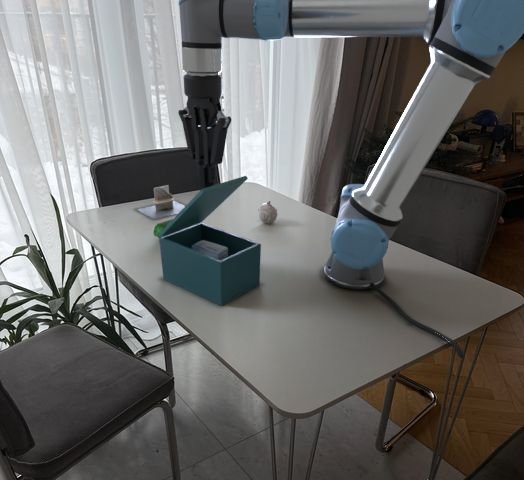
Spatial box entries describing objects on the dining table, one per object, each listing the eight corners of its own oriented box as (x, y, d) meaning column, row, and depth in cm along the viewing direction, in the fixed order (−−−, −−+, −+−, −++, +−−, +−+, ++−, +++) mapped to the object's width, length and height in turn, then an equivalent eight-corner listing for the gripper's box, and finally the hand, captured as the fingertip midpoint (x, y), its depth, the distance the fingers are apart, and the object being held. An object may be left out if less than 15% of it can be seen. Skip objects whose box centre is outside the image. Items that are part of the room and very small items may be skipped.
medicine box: (229, 279, 117) (229, 247, 112) (218, 286, 114) (217, 253, 108) (204, 271, 120) (202, 239, 115) (192, 277, 117) (191, 244, 112)
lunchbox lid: (247, 178, 105) (246, 175, 104) (203, 192, 95) (201, 189, 95) (201, 222, 120) (200, 219, 120) (159, 237, 111) (158, 234, 111)
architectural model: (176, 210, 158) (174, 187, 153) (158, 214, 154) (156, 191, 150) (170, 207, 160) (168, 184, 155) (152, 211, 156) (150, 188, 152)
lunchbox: (259, 284, 117) (261, 243, 111) (221, 306, 108) (220, 262, 102) (202, 261, 126) (201, 222, 120) (163, 279, 117) (159, 237, 111)
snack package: (208, 235, 141) (208, 218, 138) (163, 247, 132) (161, 230, 129) (195, 228, 145) (194, 212, 142) (150, 240, 137) (148, 222, 134)
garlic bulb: (254, 223, 150) (254, 198, 146) (262, 217, 155) (263, 192, 151) (272, 227, 148) (274, 202, 144) (281, 221, 153) (282, 196, 148)
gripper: (240, 75, 91) (240, 198, 104) (192, 69, 97) (198, 185, 111) (213, 78, 86) (216, 206, 99) (165, 71, 92) (174, 192, 106)
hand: (207, 195), depth 105 cm, fingers closed
